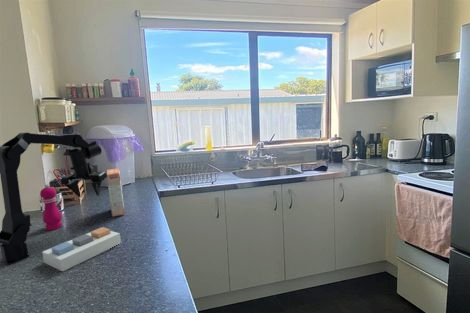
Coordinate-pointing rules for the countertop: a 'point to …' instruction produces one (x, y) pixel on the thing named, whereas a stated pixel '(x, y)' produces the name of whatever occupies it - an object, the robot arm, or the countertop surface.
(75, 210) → the countertop surface
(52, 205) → the pepper mill
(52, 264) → the keypad
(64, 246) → the key slate
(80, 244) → the key charcoal
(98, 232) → the tan square block
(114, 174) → the cracker box
